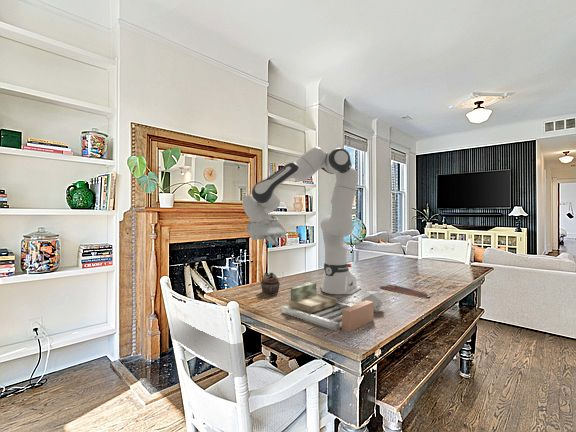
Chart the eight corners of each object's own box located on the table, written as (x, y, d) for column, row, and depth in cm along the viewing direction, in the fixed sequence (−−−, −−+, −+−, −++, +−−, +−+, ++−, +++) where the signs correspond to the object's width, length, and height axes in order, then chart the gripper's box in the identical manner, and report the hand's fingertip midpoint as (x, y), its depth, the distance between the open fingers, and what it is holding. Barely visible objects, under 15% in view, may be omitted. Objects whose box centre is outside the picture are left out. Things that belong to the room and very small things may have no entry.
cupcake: (283, 293, 156) (283, 273, 156) (264, 296, 152) (264, 275, 151) (275, 289, 164) (275, 270, 164) (257, 291, 160) (257, 271, 160)
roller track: (316, 301, 143) (316, 296, 143) (369, 316, 124) (369, 310, 124) (282, 312, 128) (282, 306, 128) (336, 331, 109) (336, 324, 109)
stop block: (366, 318, 122) (366, 300, 122) (373, 320, 120) (373, 301, 119) (342, 329, 110) (342, 309, 110) (349, 331, 108) (349, 311, 108)
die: (373, 317, 125) (387, 297, 126) (355, 303, 129) (369, 284, 130) (375, 318, 132) (388, 299, 133) (357, 305, 136) (370, 286, 137)
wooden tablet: (436, 293, 154) (426, 294, 148) (436, 298, 154) (426, 299, 148) (388, 283, 174) (378, 284, 168) (388, 287, 174) (378, 288, 168)
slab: (314, 298, 140) (314, 282, 140) (336, 304, 132) (336, 286, 132) (288, 306, 129) (289, 288, 129) (311, 313, 120) (311, 294, 120)
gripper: (247, 218, 144) (261, 241, 137) (280, 217, 158) (293, 238, 151) (241, 227, 147) (254, 250, 140) (273, 225, 161) (287, 246, 155)
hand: (275, 244), depth 146 cm, fingers closed
